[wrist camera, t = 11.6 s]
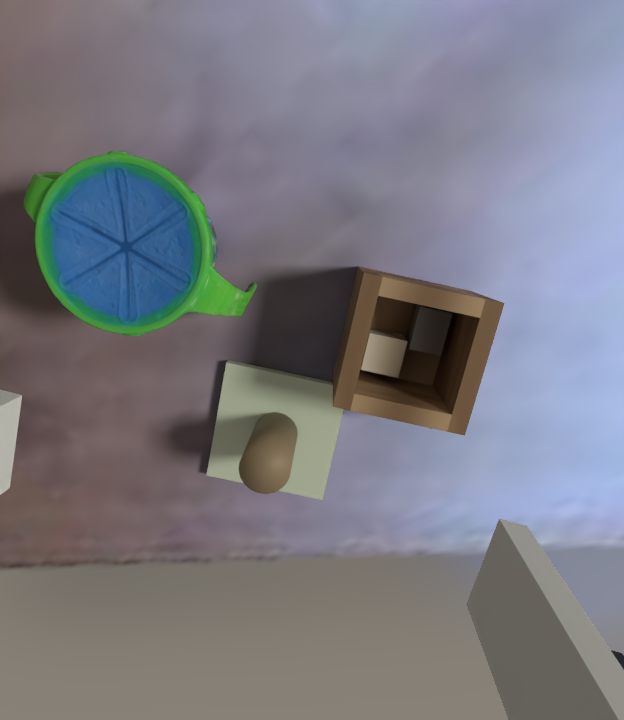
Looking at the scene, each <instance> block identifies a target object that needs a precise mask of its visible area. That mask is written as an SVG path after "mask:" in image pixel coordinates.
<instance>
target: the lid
mask: <svg viewBox="0 0 624 720" xmlns="http://www.w3.org/2000/svg"><path fill="white" fill-rule="evenodd" d="M343 411H344V409H341V408H336V407H333V382H329V381H325V380H320V379H315V378H311V377H306V376H301V375H297V374H292V373H287V372H283V371H278V370H273V369H269V368H264V367H259V366H255V365H250V364H245V363H240V362H236V361H231V360H228V361H227V362H226V367H225V373H224V379H223V384H222V390H221V396H220V401H219V407H218V413H217V418H216V424H215V430H214V435H213V441H212V447H211V452H210V458H209V464H208V469H207V475H208V476H212V477H217V478H222V479H226V480H231V481H236V482H240V483H244V484H245V485H246V486H247V487H248V488H249V489H251V490H253V491H255V492H258V493H263V494H268V493H273V492H276V491H283V492H287V493H292V494H297V495H302V496H306V497H311V498H316V499H320V500H323V495H324V491H325V487H326V483H327V478H328V474H329V470H330V466H331V461H332V457H333V453H334V449H335V445H336V440H337V436H338V432H339V428H340V423H341V419H342V415H343Z"/></svg>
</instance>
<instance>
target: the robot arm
mask: <svg viewBox="0 0 624 720" xmlns="http://www.w3.org/2000/svg"><path fill="white" fill-rule="evenodd" d="M21 400H22V395H19V394H15V393H11V392H7V391H3V390H0V495H1V494H2V493H3V492H5V491H6V490H7V489H9V488H10V482H11V474H12V467H13V459H14V452H15V444H16V437H17V430H18V422H19V415H20V407H21ZM467 606H468V610H469V612H470V615H471V618H472V620H473V623H474V626H475V629H476V631H477V634H478V637H479V640H480V642H481V645H482V648H483V651H484V653H485V656H486V659H487V662H488V664H489V667H490V670H491V673H492V675H493V678H494V681H495V684H496V686H497V689H498V692H499V694H500V697H501V700H502V703H503V705H504V708H505V711H506V714H507V716H508V719H509V720H624V656H623V655H622V654H621V653H619V652H615V651H611V650H610V649H609V647H608V646H607V644H606V643H605V641H604V640H603V638H602V637H601V635H600V634H599V633H598V631H597V629H596V628H595V626H594V625H593V623H592V622H591V620H590V619H589V618H588V616H587V615H586V613H585V612H584V610H583V609H582V607H581V606H580V604H579V603H578V601H577V600H576V598H575V597H574V595H573V594H572V592H571V591H570V589H569V588H568V586H567V585H566V584H565V582H564V580H563V579H562V578H561V576H560V575H559V573H558V572H557V570H556V569H555V567H554V566H553V564H552V563H551V561H550V560H549V558H548V557H547V555H546V554H545V552H544V551H543V549H542V548H541V546H540V545H539V543H538V542H537V540H536V539H535V537H534V536H533V535H532V533H531V532H530V530H529V529H528V527H527V526H525V525H521V524H518V523H514V522H510V521H506V520H502V519H499V521H498V524H497V526H496V529H495V531H494V534H493V537H492V539H491V542H490V544H489V547H488V550H487V552H486V555H485V558H484V560H483V563H482V566H481V568H480V571H479V573H478V576H477V579H476V581H475V584H474V586H473V589H472V592H471V594H470V597H469V600H468V602H467Z"/></svg>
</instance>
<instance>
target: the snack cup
mask: <svg viewBox="0 0 624 720" xmlns="http://www.w3.org/2000/svg"><path fill="white" fill-rule="evenodd" d="M23 205H24V208H25V210H26V212H27V214H28V215H29V216H30V217H31V219H32V220H33V222H34V224H35V225H36V226H35V247H36V255H37V259H38V263H39V266H40V269H41V272H42V274H43V276H44V278H45V281H46V283H47V284H48V286H49V289H50V291H51V292H52V293H53V295H54V296H55V297H56V298H57V299H58V300H59V301H60V302H61V303H62V305H63V306H64V307H65V308H67V309H68V310H69V311H70V312H71V313H72V314H73V315H75V316H76V317H78V318H79V319H81V320H82V321H84V322H85V323H87V324H90V325H92V326H94V327H96V328H99V329H102V330H105V331H109V332H113V333H121V334H123V335H126V336H141V335H142V334H143V333H146V332H150V331H154V330H157V329H160V328H162V327H164V326H166V325H168V324H171V323H172V322H174V321H176V320H177V319H179V318H180V317H181V316H183V315H184V314H186V313H189V312H197V313H204V314H211V315H220V316H238V317H241V316H242V314H243V313H244V311H245V308H246V306H247V305H248V303H249V301H250V299H251V297H252V296H253V294H254V292H255V289H256V287H257V285H256V283H255V282H253V283H251V284H250V285H249V287H248V288H247V290H246V292H243V291H241V290H240V289H238V288H237V287H235V286H233V285H231V284H230V283H228V282H227V281H226V280H225V279H224V278H222V277H221V276H220V275H219V274H218V273H217V272H216V271H215V270H214V266H215V262H216V257H217V239H216V235H215V231H214V228H213V226H212V223H211V221H210V219H209V218H208V216H207V215H206V212H205V207H204V205H203V203H202V201H201V200H200V198H199V197H198V195H197V194H196V193H195V192H193V191H191V189H190V188H189V187H188V186H187V185H186V184H185V183H184V182H183V181H182V180H181V179H180V178H179V177H178V176H176V175H175V174H174V173H172V172H171V171H169V170H168V169H167V168H165V167H163V166H161V165H159V164H157V163H155V162H153V161H150V160H147V159H144V158H140V157H136V156H132V155H129V154H128V153H126V152H114V151H111V152H109V153H108V154H106V155H98V156H94V157H91V158H88V159H86V160H82V161H80V162H79V163H77V164H75V165H73V166H72V167H70V168H69V169H67V170H66V171H65V172H64V173H60V172H49V173H40V174H35V175H34V176H33V178H32V180H31V182H30V184H29V187H28V190H27V192H26V194H25V198H24V203H23Z"/></svg>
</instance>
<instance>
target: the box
mask: <svg viewBox="0 0 624 720" xmlns="http://www.w3.org/2000/svg"><path fill="white" fill-rule="evenodd" d="M503 306H504V303H502V302H499V301H496V300H494V299H491V298H488V297H486V296H483V295H480V294H478V293H475V292H472V291H468V290H464V289H459V288H454V287H450V286H445V285H441V284H436V283H432V282H427V281H422V280H418V279H413V278H409V277H404V276H400V275H395V274H390V273H386V272H381V271H377V270H372V269H368V268H363V267H358V269H357V274H356V278H355V282H354V287H353V291H352V295H351V300H350V304H349V308H348V313H347V317H346V321H345V326H344V330H343V334H342V339H341V343H340V347H339V352H338V356H337V360H336V365H335V369H334V373H333V407H336V408H341V409H345V410H350V411H355V412H359V413H364V414H368V415H373V416H378V417H382V418H387V419H391V420H396V421H401V422H405V423H410V424H414V425H419V426H424V427H428V428H433V429H438V430H442V431H447V432H451V433H456V434H461V435H465V433H466V429H467V426H468V423H469V419H470V416H471V413H472V409H473V406H474V403H475V399H476V396H477V393H478V389H479V386H480V383H481V379H482V376H483V373H484V369H485V366H486V363H487V359H488V356H489V353H490V349H491V346H492V343H493V339H494V336H495V333H496V329H497V326H498V323H499V319H500V316H501V313H502V309H503Z"/></svg>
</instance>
